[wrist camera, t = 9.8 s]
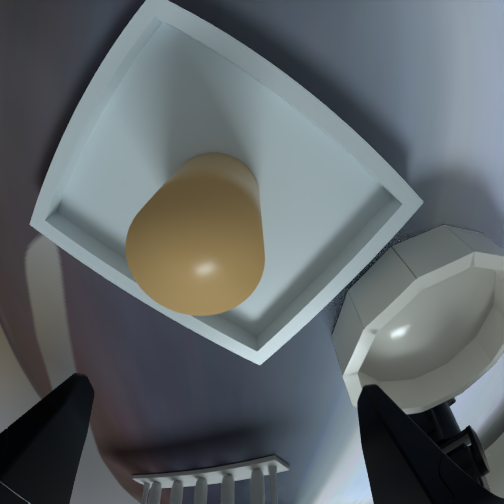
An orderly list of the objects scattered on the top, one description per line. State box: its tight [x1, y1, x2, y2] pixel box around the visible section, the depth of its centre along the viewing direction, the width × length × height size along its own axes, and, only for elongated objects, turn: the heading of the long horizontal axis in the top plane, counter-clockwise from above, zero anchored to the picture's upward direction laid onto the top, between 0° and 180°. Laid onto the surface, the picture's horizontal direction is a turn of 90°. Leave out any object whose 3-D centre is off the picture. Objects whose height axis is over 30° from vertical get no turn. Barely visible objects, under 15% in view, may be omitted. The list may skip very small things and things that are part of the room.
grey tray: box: [30, 0, 424, 365], centre depth 17 cm, size 18×15×2 cm
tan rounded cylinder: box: [126, 152, 265, 316], centre depth 14 cm, size 5×5×7 cm
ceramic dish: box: [332, 225, 504, 414], centre depth 21 cm, size 16×16×4 cm
